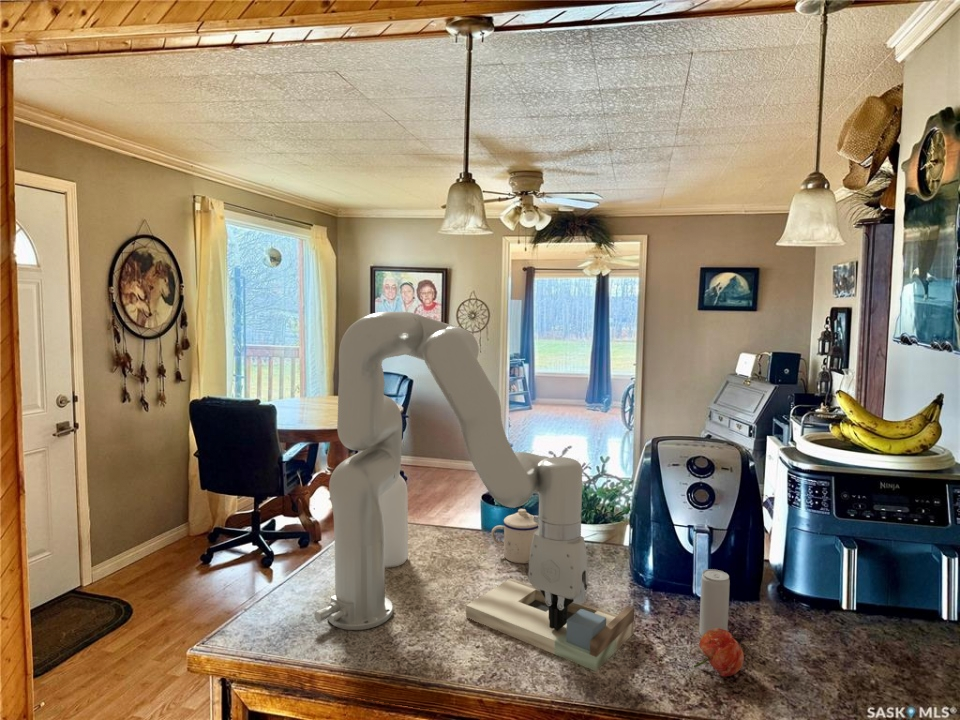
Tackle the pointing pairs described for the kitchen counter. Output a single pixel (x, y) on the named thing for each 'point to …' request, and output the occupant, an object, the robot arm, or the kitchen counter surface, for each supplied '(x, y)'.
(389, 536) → the alcohol
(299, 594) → the kitchen counter surface
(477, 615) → the board
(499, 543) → the teacup with lid
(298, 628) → the kitchen counter surface
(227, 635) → the kitchen counter surface
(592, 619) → the slate block
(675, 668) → the kitchen counter surface
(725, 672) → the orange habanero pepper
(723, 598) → the beverage can
